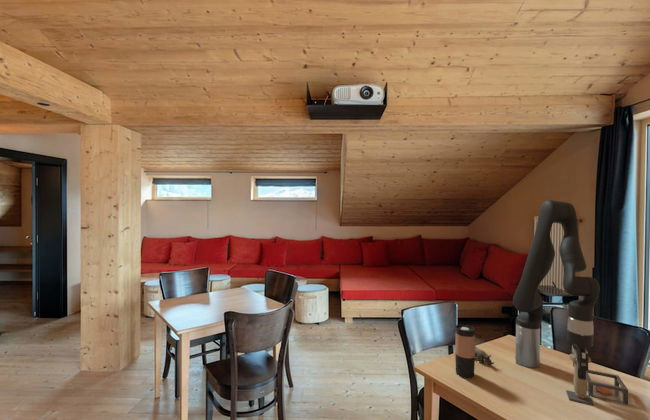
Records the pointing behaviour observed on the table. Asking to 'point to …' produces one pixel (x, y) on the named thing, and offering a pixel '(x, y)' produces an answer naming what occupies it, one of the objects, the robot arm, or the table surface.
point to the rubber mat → (574, 398)
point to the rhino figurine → (482, 356)
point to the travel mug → (465, 351)
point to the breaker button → (604, 390)
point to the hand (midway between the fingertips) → (579, 373)
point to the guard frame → (616, 395)
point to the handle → (579, 384)
